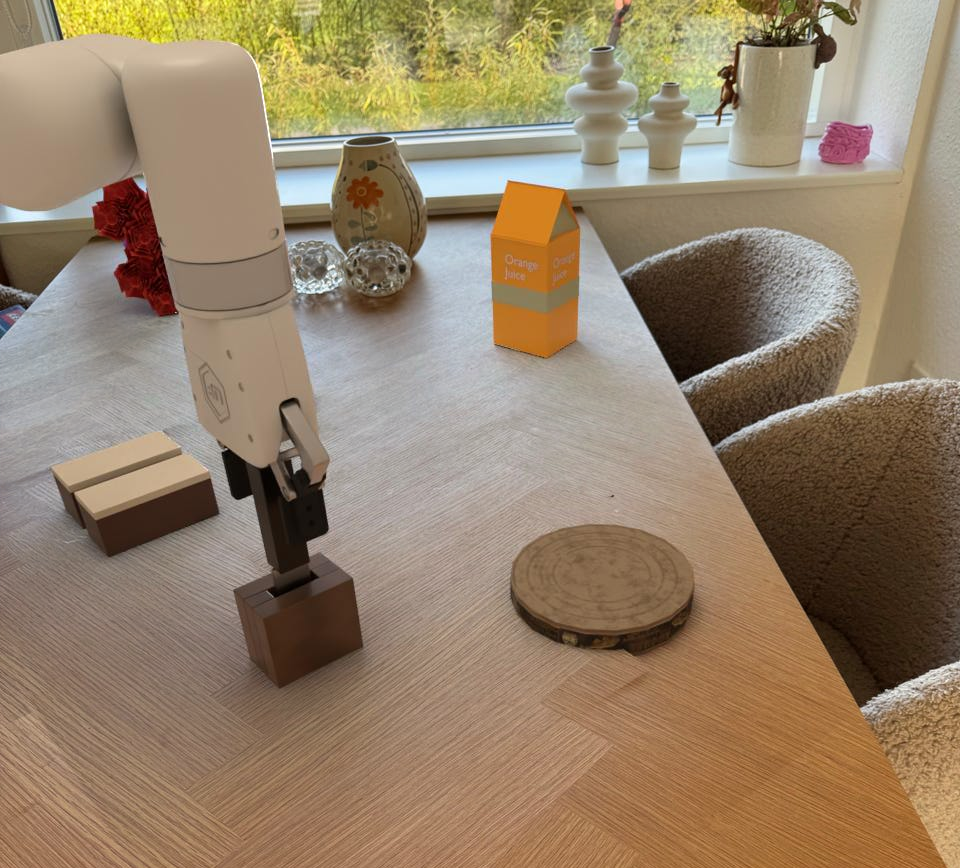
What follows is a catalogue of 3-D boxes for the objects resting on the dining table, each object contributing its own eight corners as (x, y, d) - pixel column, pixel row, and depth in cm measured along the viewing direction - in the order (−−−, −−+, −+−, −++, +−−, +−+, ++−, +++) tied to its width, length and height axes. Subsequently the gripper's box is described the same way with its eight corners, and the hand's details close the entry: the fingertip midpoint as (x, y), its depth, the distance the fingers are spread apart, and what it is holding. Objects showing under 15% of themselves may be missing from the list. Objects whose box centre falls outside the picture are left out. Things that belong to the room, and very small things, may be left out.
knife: (297, 666, 78) (256, 471, 66) (284, 653, 79) (241, 459, 68) (329, 650, 79) (294, 457, 68) (315, 637, 81) (278, 446, 69)
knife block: (281, 697, 76) (263, 619, 71) (251, 666, 80) (232, 589, 75) (365, 655, 80) (353, 577, 75) (333, 627, 83) (320, 551, 78)
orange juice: (546, 358, 126) (547, 197, 113) (492, 344, 130) (487, 187, 117) (578, 339, 130) (583, 181, 118) (525, 326, 135) (524, 172, 122)
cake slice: (108, 557, 93) (93, 513, 90) (88, 535, 96) (73, 492, 93) (220, 513, 99) (209, 470, 96) (198, 494, 102) (187, 452, 99)
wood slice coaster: (729, 605, 84) (734, 577, 82) (599, 685, 76) (600, 657, 74) (601, 531, 93) (602, 505, 91) (474, 596, 86) (472, 569, 84)
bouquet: (209, 288, 170) (233, 305, 145) (113, 304, 166) (121, 324, 140) (179, 166, 161) (200, 161, 136) (78, 179, 157) (79, 177, 131)
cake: (83, 529, 97) (67, 486, 94) (65, 508, 101) (50, 466, 97) (191, 488, 103) (180, 446, 100) (171, 470, 106) (160, 429, 103)
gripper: (119, 257, 63) (182, 488, 75) (241, 329, 53) (293, 587, 64) (222, 232, 67) (267, 456, 78) (356, 295, 56) (386, 545, 67)
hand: (279, 514), depth 71 cm, fingers open, 7 cm apart
